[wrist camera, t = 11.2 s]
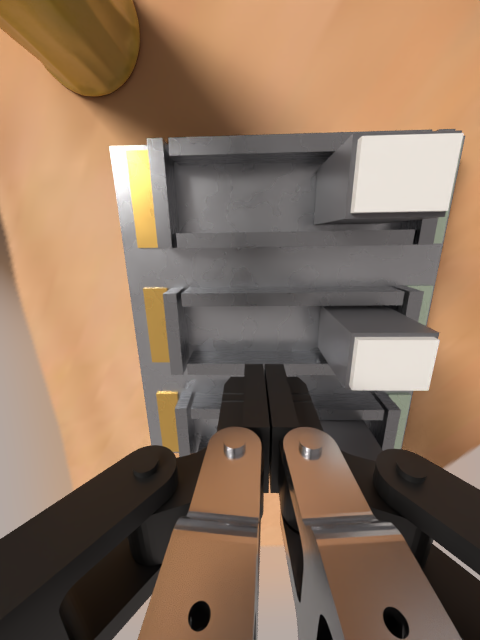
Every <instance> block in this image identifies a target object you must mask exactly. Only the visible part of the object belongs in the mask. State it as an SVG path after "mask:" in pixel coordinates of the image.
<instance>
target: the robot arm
mask: <svg viewBox="0 0 480 640" xmlns="http://www.w3.org/2000/svg"><path fill="white" fill-rule="evenodd" d="M269 478H270V490H271V493H279V497H280V525H281V530H282V536H283V542H284V547H285V552H286V558H287V564H288V569H289V575H290V581H291V586H292V592H293V597H294V602H295V609H296V617H297V626H298V640H480V581H479V580H478V579H477V578H476V577H474V576H473V575H472V574H470V573H469V572H468V571H466V570H465V569H464V568H463V567H461V566H460V565H459V564H457V563H456V562H455V561H454V560H452V559H451V558H450V557H449V556H447V555H446V554H445V553H443V552H442V551H441V550H439V549H438V548H437V547H436V546H434V545H433V544H432V543H433V540H435V541H436V542H438V543H439V544H440V545H441V546H443V547H444V548H445V549H446V550H448V551H449V552H450V553H452V554H453V555H454V556H456V557H457V558H458V559H459V560H461V561H462V562H464V563H465V564H466V565H467V566H469V567H470V568H471V569H473V570H474V571H475V572H477V573H478V574H479V575H480V490H479V489H477V488H475V487H474V486H472V485H470V484H468V483H467V482H465V481H463V480H461V479H460V478H458V477H456V476H455V475H453V474H451V473H449V472H448V471H446V470H444V469H442V468H441V467H439V466H437V465H435V464H434V463H432V462H430V461H428V460H427V459H425V458H423V457H421V456H419V455H417V454H415V453H413V452H410V451H407V450H402V449H387V450H384V451H382V452H381V453H379V455H378V456H377V459H376V461H373V460H369V459H365V458H361V457H357V456H354V455H351V454H348V453H346V452H344V451H342V450H340V449H339V447H338V445H337V443H336V442H335V440H334V439H333V438H332V437H331V436H329V435H328V434H327V433H325V432H324V431H323V428H322V425H321V423H320V420H319V417H318V415H317V412H316V409H315V407H314V404H313V403H312V399H311V396H310V395H309V391H308V388H307V385H306V384H305V383H304V382H303V381H302V380H301V379H300V378H299V377H287V376H286V372H285V368H284V364H264V367H263V364H245V368H244V377H230V378H229V379H228V380H227V382H226V383H225V384H224V389H223V395H222V402H221V408H220V414H219V420H218V426H217V432H216V433H215V434H214V435H213V436H212V437H211V439H210V440H209V443H208V446H207V447H206V448H204V449H202V450H201V451H199V452H196V453H193V454H190V455H186V456H182V457H179V458H176V457H175V454H174V453H173V452H172V451H171V450H170V449H169V448H167V447H164V446H160V445H152V446H146V447H143V448H140V449H138V450H136V451H134V452H132V453H130V454H129V455H127V456H126V457H124V458H123V459H121V460H120V461H118V462H117V463H115V464H114V465H112V466H111V467H109V468H108V469H106V470H105V471H103V472H102V473H100V474H99V475H97V476H96V477H94V478H93V479H91V480H89V481H88V482H86V483H85V484H83V485H82V486H80V487H79V488H77V489H76V490H74V491H73V492H71V493H70V494H68V495H67V496H65V497H64V498H62V499H61V500H59V501H58V502H56V503H55V504H53V505H52V506H50V507H48V508H47V509H45V510H44V511H42V512H41V513H39V514H38V515H37V516H35V517H33V518H32V519H30V520H29V521H27V522H26V523H24V524H23V525H21V526H20V527H18V528H17V529H15V530H14V531H12V532H10V533H9V534H7V535H6V536H4V537H3V538H1V539H0V640H112V639H113V638H114V637H115V636H116V634H117V633H118V632H119V631H120V630H121V629H122V627H123V626H124V625H125V624H126V623H127V622H128V621H129V620H130V618H131V617H132V616H133V615H134V614H135V613H136V612H137V610H138V609H139V608H140V607H141V606H142V605H143V604H144V602H145V601H146V600H147V599H148V598H149V597H150V596H151V595H152V596H151V600H150V603H149V606H148V609H147V612H146V615H145V618H144V621H143V624H142V627H141V630H140V634H139V637H138V640H257V632H258V595H259V563H260V532H261V518H262V515H263V497H264V493H268V491H269Z"/></svg>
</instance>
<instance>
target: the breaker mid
mask: <svg viewBox="0 0 480 640" xmlns="http://www.w3.org/2000/svg"><path fill="white" fill-rule="evenodd" d="M438 336H439V332H437V331H435V330H433V329H431V328H429V327H427V326H425V325H423V324H421V323H419V322H417V321H415V320H413V319H411V318H409V317H407V316H405V315H403V314H401V313H399V312H397V311H395V310H393V309H391V308H389V307H387V306H385V305H358V306H321V307H320V320H319V333H318V348H319V350H320V351H321V353H322V354H323V356H324V358H325V359H326V361H327V362H328V364H329V365H330V367H331V369H332V370H333V372H334V373H335V375H336V377H337V378H338V380H339V381H340V383H341V385H342V386H343V388H344V389H351V390H380V391H429V386H430V382H431V377H432V373H433V368H434V364H435V359H436V355H437V350H438V346H439V341H440V340H439V339H438Z"/></svg>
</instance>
